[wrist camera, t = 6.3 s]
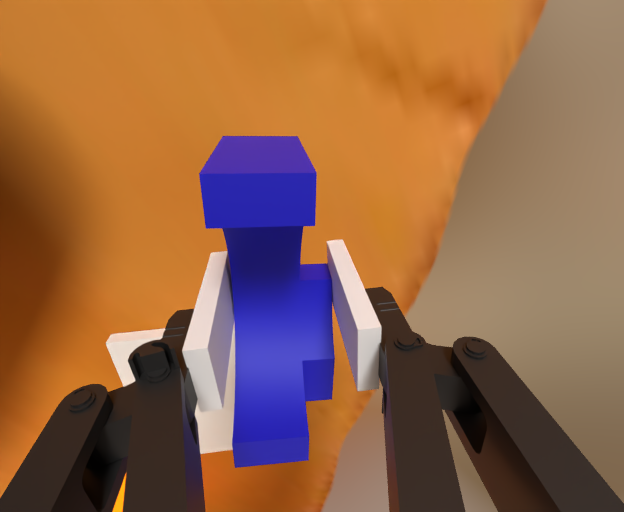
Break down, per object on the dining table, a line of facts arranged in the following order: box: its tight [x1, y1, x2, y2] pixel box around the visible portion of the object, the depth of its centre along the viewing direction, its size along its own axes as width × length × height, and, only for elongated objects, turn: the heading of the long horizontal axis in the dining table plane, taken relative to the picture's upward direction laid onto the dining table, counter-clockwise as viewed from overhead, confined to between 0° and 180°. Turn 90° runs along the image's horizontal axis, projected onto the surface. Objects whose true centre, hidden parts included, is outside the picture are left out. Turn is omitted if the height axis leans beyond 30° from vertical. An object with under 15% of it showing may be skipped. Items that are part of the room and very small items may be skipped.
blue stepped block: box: [199, 136, 335, 468], centre depth 15 cm, size 12×4×6 cm, turn 179°
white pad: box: [106, 324, 235, 454], centre depth 35 cm, size 16×16×1 cm
